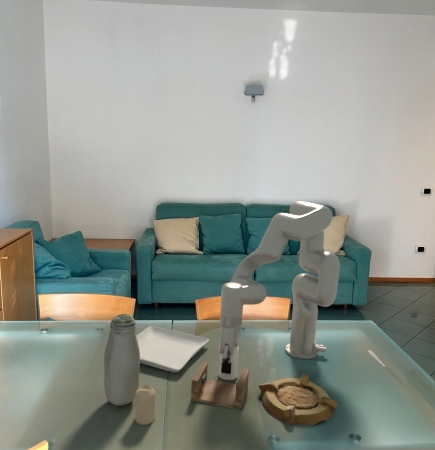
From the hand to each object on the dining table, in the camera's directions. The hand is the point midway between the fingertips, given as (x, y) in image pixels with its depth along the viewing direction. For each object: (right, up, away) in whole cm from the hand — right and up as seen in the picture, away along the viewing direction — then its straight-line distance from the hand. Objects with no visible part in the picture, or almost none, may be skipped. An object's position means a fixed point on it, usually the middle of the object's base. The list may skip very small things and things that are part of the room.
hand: (228, 367), depth 153 cm
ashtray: (+21, -7, -13) cm, 26 cm away
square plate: (-24, 0, +15) cm, 29 cm away
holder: (-3, -5, -11) cm, 12 cm away
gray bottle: (-33, -5, -17) cm, 38 cm away
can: (0, -3, +1) cm, 3 cm away
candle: (-25, -7, -25) cm, 36 cm away
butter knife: (+60, -4, +13) cm, 61 cm away
